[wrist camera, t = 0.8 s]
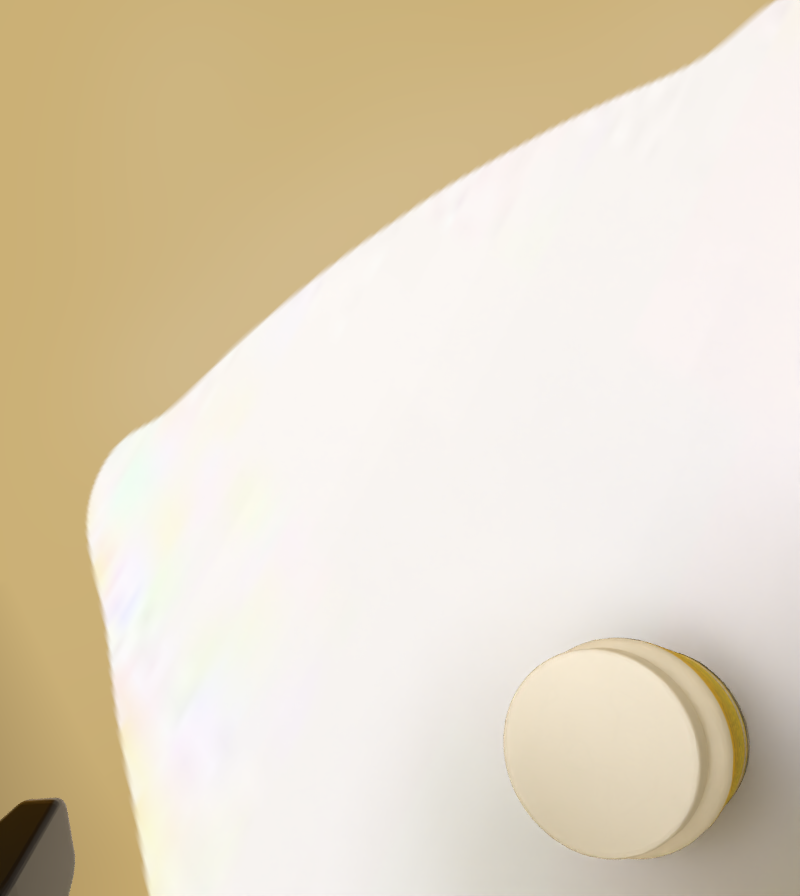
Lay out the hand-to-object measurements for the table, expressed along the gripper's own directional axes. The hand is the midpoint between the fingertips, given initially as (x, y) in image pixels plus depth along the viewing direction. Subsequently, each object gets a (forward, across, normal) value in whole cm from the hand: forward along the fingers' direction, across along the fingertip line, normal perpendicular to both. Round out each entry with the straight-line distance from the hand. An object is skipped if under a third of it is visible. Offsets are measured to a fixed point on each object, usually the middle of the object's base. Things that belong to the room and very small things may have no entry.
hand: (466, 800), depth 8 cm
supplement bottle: (+10, -8, +8) cm, 16 cm away
